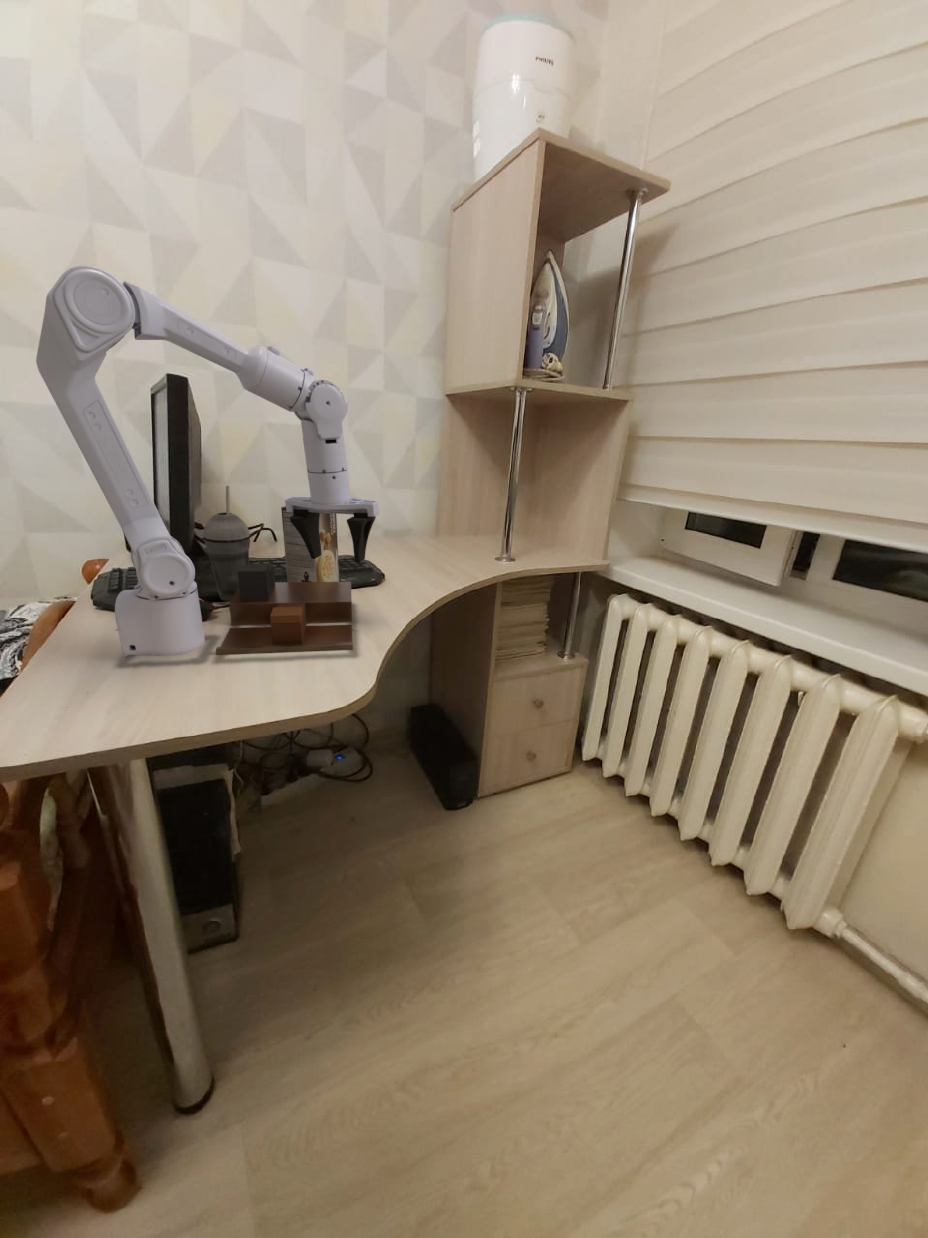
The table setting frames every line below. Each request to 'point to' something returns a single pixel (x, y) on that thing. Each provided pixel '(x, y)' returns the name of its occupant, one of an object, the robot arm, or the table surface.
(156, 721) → the table surface
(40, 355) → the robot arm
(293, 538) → the coffee box
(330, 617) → the shoe stand
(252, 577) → the dark grey block
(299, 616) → the brown block
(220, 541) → the beverage cup
